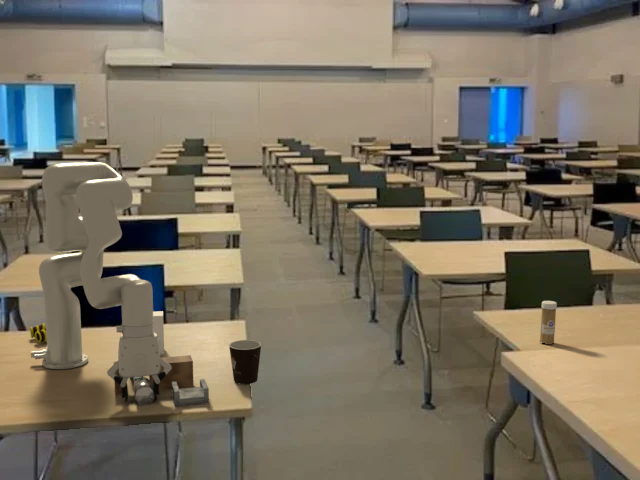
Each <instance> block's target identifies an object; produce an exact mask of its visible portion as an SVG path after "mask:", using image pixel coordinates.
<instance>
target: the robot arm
mask: <svg viewBox="0 0 640 480" xmlns="http://www.w3.org/2000/svg"><path fill="white" fill-rule="evenodd" d="M41 184H42V191H43V194H44V198H45V202H46V211H45V213H46V216H45V242H46V246H47V248H48V249H49V251H51V252H53V253H65V254H58V255H52V256H49V257H46V258H45V259H43V260H42V261H41V262H40V264H39V267H38V275H39V279H40V283H41V288H42V291H43V292H42V293H43V299H44V300H43V301H44V314H45V315H44V316H45V328H46V336H47V341H46V348H44V349H42V350H30V357H31V359H35V360H40V359H42V360H41V363H42V366H43V367H44V368H45V369H48V370H49V369H51V370H69V369H74V368H77V367H80V366H83V365H85V364H87V362H88V361H89V355H87V354H85V353H83V340H82V338H83V337H82V321H81V317H82V316H81V304H80V300H79V298H78V296H77V295H76V294H75V293H74V292H73V291H72V288H76V287H79V286H82V287H83V290H84V294H85V296H86V299H87V302H88V304H90V306H91V307H93V308H94V309H99V310H102V309H109V308H114V307H119V306H121V321H122V322H121V325H120V326H116V327H115V328H116V333H121V335H120V336H119V341H118V352H117V355H118V356H117V357H118V358H117V361H115V362H116V363H115V364H114V363H113V365H112V366H111V367H110V368H108V369H107V371H106V373H107V376H108V377H110V378H111V379H112V380H113V382H114V381H115V382H117V383H118V384H119V385H120V386H121V387H122V394H121V399H124V403H128V402H129V389H128V388H129V387H128V380H129V379H130V377H142V376H143V377H149V376H152V377H153V392H154V399H153V400H158V397H157V395H160V390H159V383H160V381H161V380H162V379H163V378H164V377H165V376H166V374H167V373H168V372H169V371H170V370H171V369H172V367H171V365H170V364H169V363H167V362H166V361H165V360H164V359H162V358H163V357H161V355H160V348H159V341H158V337H157V334H156V333H154V322H153V312H154V302H153V298H154V297H153V286H152V285H153V284H152V282H150V281H149V280H147V279H146V280H145V279H142V278H140V277H139V276H138V275H136V274H133V273H127V274H121V275H114V276H108V277H102V274H103V269H104V251H105V250H104V249H106V248H108V247H110V246H112V245H114V244H115V243H117V242H118V241H119V240H121V238H122V236H123V232H122V229H121V225H120V222H119V219H118V215H117V212H116V211H122V210H126V209H129V208H130V207H131V206H132V204H133V201H134V200H133V197H134V196H133V190H132V189H131V186H130V184H129V183H128V181H127V180H126V179H125V178H124V176H122V175H121V174H120V173H119V172H117V171H116V170H115V169H114V168H113V167H112V166H110V165H109V164H107V163H105V162H100V161H98V162H97V161H92V162H67V163H66V162H64V163H56V164H51V165H49V166H47V167H45V170H43V173H42V178H41ZM79 213H80V214H79ZM80 215H81V216H80ZM76 251H80V252H76ZM68 252H69V253H68ZM70 252H74V253H70ZM101 277H102V278H101ZM161 365H162V366H163V367H164V369H163V370H162V371H161ZM118 368H119V374H120V376H121V377H122V378H121V377H119V376H118V375H117V374H116V373H115V371H116V370H117V369H118ZM160 371H161V372H160Z"/></svg>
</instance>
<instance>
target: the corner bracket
mask: <svg viewBox="0 0 640 480" xmlns="http://www.w3.org/2000/svg"><path fill="white" fill-rule="evenodd" d="M153 322H154V333H156V334H157V337H158V341H159V348H160V356H161V355H165V337H164V336H165V331H164V311H163V310H162V311H161V310H159V311H153Z"/></svg>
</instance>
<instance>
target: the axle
mask: <svg viewBox="0 0 640 480" xmlns="http://www.w3.org/2000/svg"><path fill="white" fill-rule="evenodd" d="M133 391H134V397H135V400H136V403H137V404H138V405H140V406H147V405H150V404H151V403H152V402H153V401H154V400H155V399H154V392H153V388H152V384H151V381H150V380H149V378H147V377H146V376H143V377H141V378H139V379H137V380H136V381H135V383H134V382H133Z"/></svg>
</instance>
